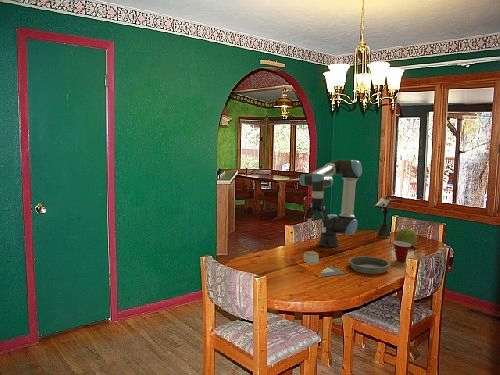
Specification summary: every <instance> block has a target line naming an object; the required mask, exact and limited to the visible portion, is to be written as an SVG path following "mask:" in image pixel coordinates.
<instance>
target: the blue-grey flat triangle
mask: <svg viewBox="0 0 500 375" xmlns="http://www.w3.org/2000/svg"><path fill="white" fill-rule="evenodd" d="M322 271H323V272H321V278H326V277H325V276H328V277H333V276H340V275H341V276H342V275H346V273H345V272H343V271H342V270H339V269H338V268H336V267H334V266H332V265H330V268H328V267H327V268H326V269H324V270H322ZM318 276H319V275H318Z"/></svg>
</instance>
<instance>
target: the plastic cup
mask: <svg viewBox="0 0 500 375" xmlns="http://www.w3.org/2000/svg"><path fill="white" fill-rule="evenodd" d="M393 245H394V252H395V259H396V261H397V262H399V263H400V262H401V263H404V262H406V260H407V256H408V253H409V249H410V248H411V247H410V246H411V244H409V243H406V242H401V241H395V240H394V241H393Z"/></svg>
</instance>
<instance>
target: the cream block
mask: <svg viewBox="0 0 500 375" xmlns="http://www.w3.org/2000/svg"><path fill="white" fill-rule="evenodd" d="M319 254H320V253H318V252H316V251H314V250H310V251H303V260H304V262H306V263H307V264H319V260H320V259H319V256H320V255H319Z"/></svg>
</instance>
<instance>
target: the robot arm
mask: <svg viewBox="0 0 500 375" xmlns="http://www.w3.org/2000/svg"><path fill="white" fill-rule="evenodd" d="M362 174H363V166H362V163H361V162H360V161H359V160H356V159H335V160H331V161H330V162H327V163H326V164H324V166H322V167H320V168H318V169H317V170H314V171H312V172H310V173H308V174H301V175H300V176H299V178H298V180H299V181H298V182H299V184H300V186H305V187H311V203H309V204H308V207H307V210H306V211H305V216H304V217H305V218H306V220H307V221H306V223H307V229H308V230H309V229H312V223H313V222H312V221H313V220H312V219H313V218H312V217H313V216H314V214H315V213H317V214H318V215H319V216H320V218H321V219H320V220H321V221H320V236H319V239H318V244H319V245H321V246H324V247H323V248H327V247H334V248H337V247H338V248H339V245H340V242H339V238H338V234H342V235H346V236H347V235H351V236H352V235H354V234H355V232H357V229H358V225H359V224H358V219H356V216H355V214H354V209H355V198H356V196H355V195H356V186H357V185H356V184H357V181H358V180H359V178H360V177H361V176H362ZM333 176H341V179H342V180H343V184H342V199H341V211H340V213H339V215H338V214H335V213H332V214H328V212H327V211H328V210H327V207H326V206H323V204H324V190H325V189H324V188H329V187H332V186H333V184H334V179H333ZM318 244H317V245H318ZM319 245H318V246H319ZM321 246H320V247H321Z"/></svg>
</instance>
